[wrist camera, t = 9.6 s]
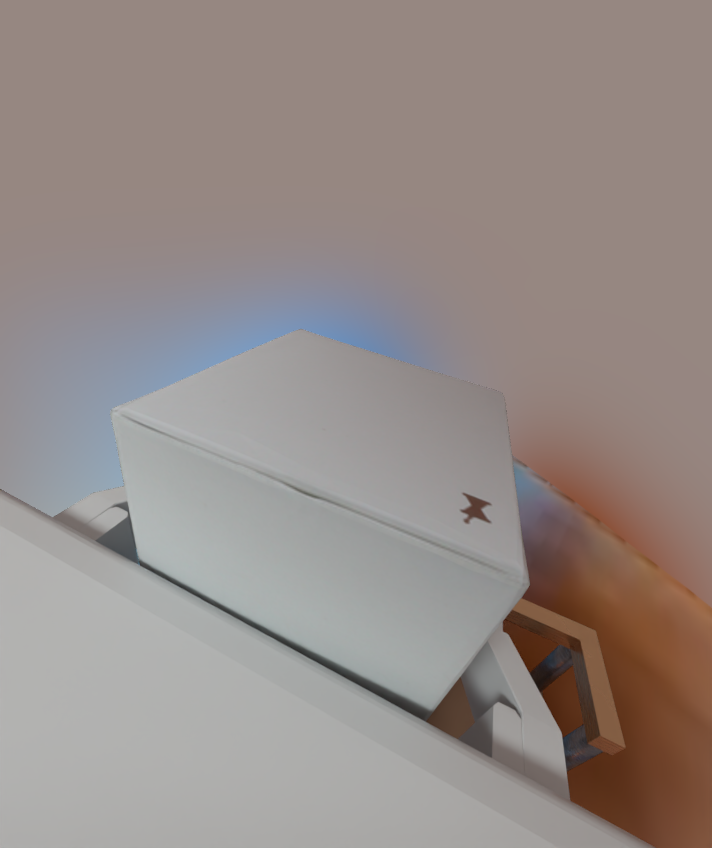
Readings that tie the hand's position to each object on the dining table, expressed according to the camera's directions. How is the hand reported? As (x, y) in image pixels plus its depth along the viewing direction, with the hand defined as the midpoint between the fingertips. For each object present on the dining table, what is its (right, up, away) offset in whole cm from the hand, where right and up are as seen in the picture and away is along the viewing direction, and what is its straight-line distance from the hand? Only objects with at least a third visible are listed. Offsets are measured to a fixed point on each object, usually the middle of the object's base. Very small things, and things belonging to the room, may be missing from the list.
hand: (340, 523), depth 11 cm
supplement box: (-2, -7, +3) cm, 8 cm away
